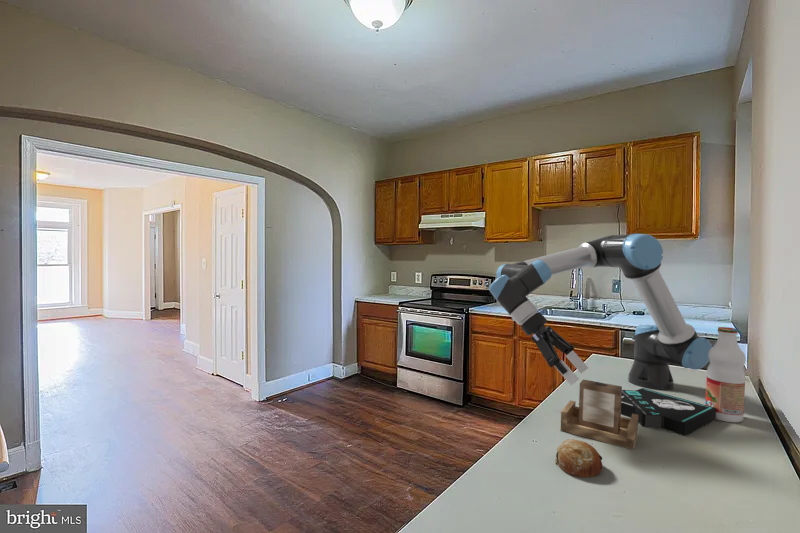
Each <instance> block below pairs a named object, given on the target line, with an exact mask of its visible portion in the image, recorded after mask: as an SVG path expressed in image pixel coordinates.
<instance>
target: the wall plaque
mask: <svg viewBox="0 0 800 533" xmlns="http://www.w3.org/2000/svg"><path fill="white" fill-rule="evenodd" d="M632 414H637V415H638V425H640V426H641V427H642V428H651V429H661V430H664V431H665V430H666V431H668V432H672V433H674V434H677V435H680V436H682V437H683V436H684V437H686V436H688V435H691V434H693V433H694V432H695V431H698V430H699V429H702V428H704V427H706V426H708V425H709V424H711V423H713V422H715V421H716V420H717V419H716V408H714V407H711V406H707V405H705V404H703V403H700V402H696V401H693V400H689V399H685V398H682V397H678V396H673V395H670V394H667V393H662V392H658V391H655V390H652V389H650V388H646V387H642V388H639V389H635V390H633V389H632V390H631V389H622V396H621V415H622V416H623V417H626V418H631V416H632Z"/></svg>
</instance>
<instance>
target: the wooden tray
mask: <svg viewBox="0 0 800 533" xmlns="http://www.w3.org/2000/svg"><path fill="white" fill-rule="evenodd" d="M578 422H579V406H576V401H574V400H569V401H568V402H567V404H566V405H565V406H564V407H563V409H561V411H560V432H563V433H564V432H565V433H568V434H572V435H576V436H580V437H584V438H588V439H591V440H595V441H600V442H603V443H606V444H611V445H613V446H614V445H615V446H617V447H618V446H619V447H623V448H626V449H630V450H634V449H635V445H636V442H637V438H638V434H639V423H638V415H637V414H632V416H631V418H630V417H627V416H621V422H620V431H619V433H618V434H614V433H610V432H606V431H602V430H597V429H593V428H589V427H585V426H581V425H578Z"/></svg>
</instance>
